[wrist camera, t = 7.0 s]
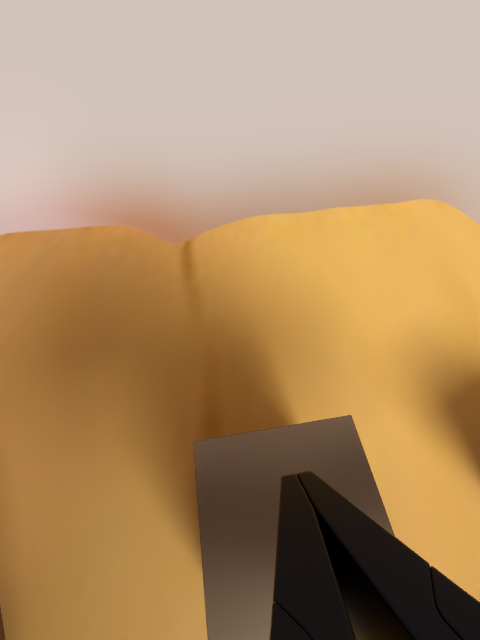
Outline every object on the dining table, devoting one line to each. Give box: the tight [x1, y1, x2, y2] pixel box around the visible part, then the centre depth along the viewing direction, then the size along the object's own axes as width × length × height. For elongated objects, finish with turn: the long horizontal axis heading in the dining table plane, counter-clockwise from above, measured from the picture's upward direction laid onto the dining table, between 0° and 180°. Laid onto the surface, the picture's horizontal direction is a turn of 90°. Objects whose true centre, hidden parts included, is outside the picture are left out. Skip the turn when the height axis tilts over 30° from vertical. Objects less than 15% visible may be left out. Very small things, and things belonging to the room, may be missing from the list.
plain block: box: [193, 415, 395, 640], centre depth 13 cm, size 6×6×8 cm
